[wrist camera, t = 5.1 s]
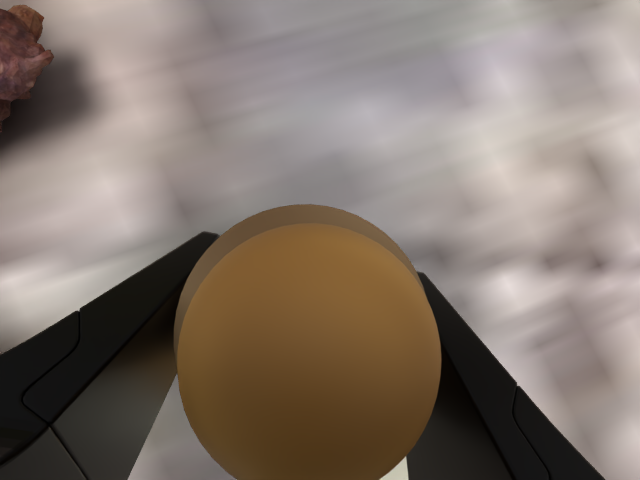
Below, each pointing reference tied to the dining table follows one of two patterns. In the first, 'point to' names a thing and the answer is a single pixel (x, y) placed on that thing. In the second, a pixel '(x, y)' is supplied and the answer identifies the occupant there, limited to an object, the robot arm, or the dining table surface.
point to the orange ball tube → (306, 348)
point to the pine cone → (19, 55)
